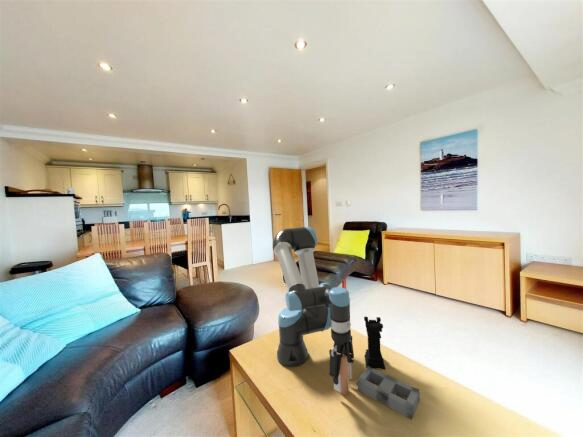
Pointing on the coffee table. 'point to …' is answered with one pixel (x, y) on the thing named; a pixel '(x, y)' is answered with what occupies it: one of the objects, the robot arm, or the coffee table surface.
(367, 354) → the chess piece
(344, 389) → the dowel
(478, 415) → the coffee table surface
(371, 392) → the socket board
